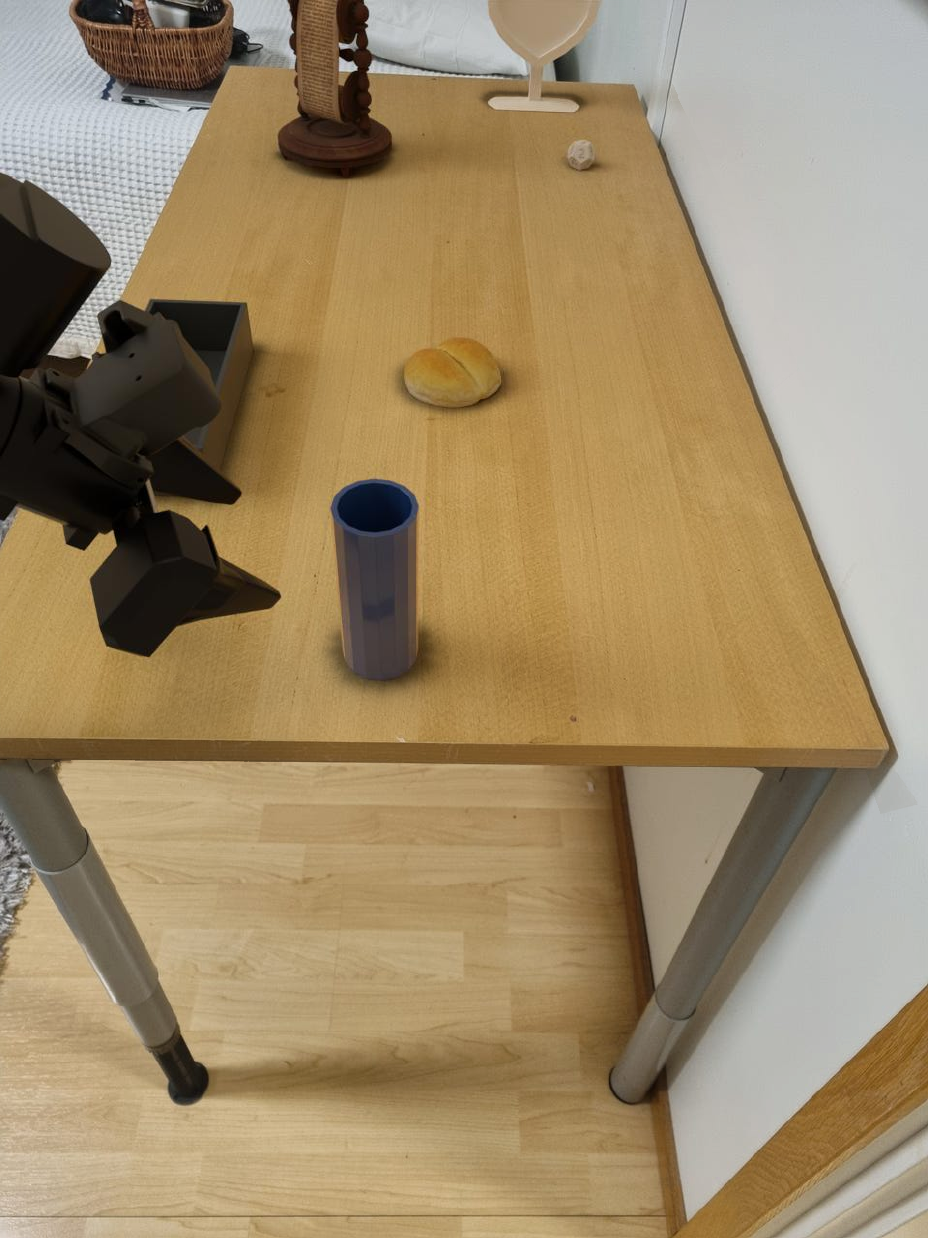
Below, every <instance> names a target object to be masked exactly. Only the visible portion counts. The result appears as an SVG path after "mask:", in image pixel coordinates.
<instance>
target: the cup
mask: <svg viewBox="0 0 928 1238" xmlns="http://www.w3.org/2000/svg"><path fill="white" fill-rule="evenodd" d="M330 520H331V521H330V522H331V531H332V542H333V543H332V544H333V554H334V566H335V576H336V588H337V589H336V590H337V597H338V598H337V601H338V612H339V622H340V633H341V634H340V635H341V645H342V646H341V647H342V653H343V654H342V655H343V659H344V662H345V664H346V666H347V667H348V668H349V669H350V671H351V672H353V673H354V674H355V675H357V676H359V677H361V678H362V679H363V678H364V679H366V680H371V681H388V680H393V679H397V678H398V677H401V676H403V675H404V674H406V673H407V672H408V671H410V670H411V668H413V666H414V664H415V663H416V661H417V658H418V654H419V653H418V652H419V576H420V575H419V572H420V571H419V568H420V567H419V561H420V559H419V558H420V556H419V554H420V552H419V550H420V549H419V547H420V545H419V543H420V506H419V503H418V499H417V497H416V495H415V494H414V493H413V492H412V491H411V490H410V489H409V488H407V486H405V485H403V484H401V483H398V482H395V481H394V480H391V479H383V478H368V479H362V480H358V481H354V482H352V483H350V484H348V485H345V486H344V487H342V488H341V489H340V490H339V491H338V492H337V493H336V494H335V495H334V497H333V499H332V501H331V504H330Z"/></svg>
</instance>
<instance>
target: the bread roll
mask: <svg viewBox="0 0 928 1238" xmlns="http://www.w3.org/2000/svg"><path fill="white" fill-rule="evenodd" d="M403 379H404V384H405V386H406V389H407V391H408V392H409V394H410V395H411V396H413V397H414V399H416V400H419V401H421V402H422V403H425V404H429V405H432V406H436V407H441V408H449V409H455V408H456V409H457V408H464V407H469V406H472V405H474V404H477V403H478V402H479V401H480V400H485V399H488V398H489V397H491V396H492V395H493V394H494V393H496V392H497V391H498V389H499V388H500V386H501V384H502V376H501V370H500V366H499V364H498V362H497V359H496V358H495V356H494V355H493V353H492V352H491V351H490V350H489V349H488V347H487V346H485V345H484V344H483V343H481V342H480V341H477V340H476V339H473V338H470V337H460V336H457V337H450V338H448V339H447V340H445V341H443V342H441V343H440V344H438V346H436V348H432V347H431V348H422V349H419V350H416V351H415V352H414V353H413V354H411V356H410V357H409V358H408V359H407V361H406V363H405V365H404V369H403Z"/></svg>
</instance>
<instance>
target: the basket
mask: <svg viewBox="0 0 928 1238" xmlns="http://www.w3.org/2000/svg"><path fill="white" fill-rule="evenodd" d="M144 311H146V312H148V313H150V314H152V315H155V314H156V313H158V312H160V313H161V315H162V316H163V317H164V318H165V319H166V320H173V321H175V322H176V323H177V324H178V326H179V329H180V331H181V334H182V336H183V338H184V339H185V340H186V341H187V343H188V344H189V345H190V346H191V348H192V349H193V350H194V351H195V352H196V354H197V355H198V356H199V357H200V359H201V360H202V361H203V362H204V364H205V365H206V366H207V367H208V369H209V371H210V376H211V379H212V381H213V384H214V386H215V389H216V391H217V393H218V394H219V396H220V398H221V401H222V407H221V410H220V412H219V414H218V415H217V417H216V418H215V419H214V420H213V421H211V422H210V423H209V424H207V425H205V426H204V427H202V428H199V427H196V428H194V429H192V430H191V431H189V432H188V433H186V434H184V435H183V436H184V437H185V438H186V439H187V440H188V441H189V442H190V443H191V444H193V445H194V446H195V447H196V448H197V449H198V450H199V451H200V452H201V453H202V454H203V455H204V456H205V457H206V458H208V459H209V460H210V461H211V462H212V463H213V464H214V465H215V466H216V467H217V468H218V469H219V470H221V468H222V465H223V461H224V458H225V454H226V450H227V446H228V443H229V441H230V436H231V433H232V429H233V426H234V422H235V418H236V414H237V411H238V407H239V403H240V400H241V396H242V393H243V390H244V386H245V382H246V379H247V375H248V371H249V369H250V368H249V367H250V363H251V361H252V356H253V353H254V351H255V350H254V342H253V336H252V335H253V334H252V329H251V322H250V314H249V307H248V303H247V302H246V301H245V302H243V301H240V302H239V301H219V300H218V301H216V300H193V299H191V300H189V299H168V298H167V299H165V298H164V299H163V298H161V299H160V298H149V300H148V302H147V304H146V307H145V309H144ZM153 494H154V497H155V496H156V497H158V496H159V497H175V496H174V495H169V494H164V493H159V492H154V491H153Z"/></svg>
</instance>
